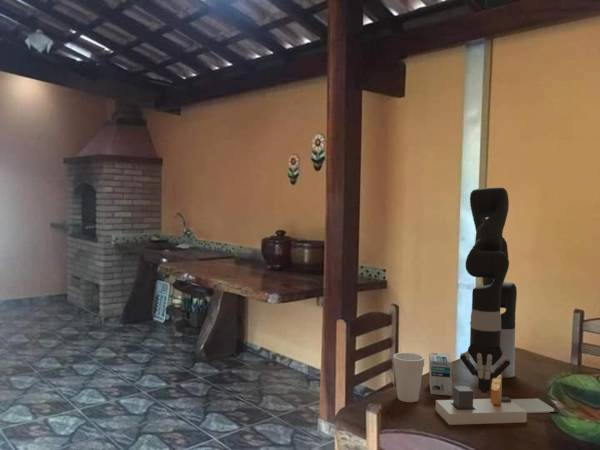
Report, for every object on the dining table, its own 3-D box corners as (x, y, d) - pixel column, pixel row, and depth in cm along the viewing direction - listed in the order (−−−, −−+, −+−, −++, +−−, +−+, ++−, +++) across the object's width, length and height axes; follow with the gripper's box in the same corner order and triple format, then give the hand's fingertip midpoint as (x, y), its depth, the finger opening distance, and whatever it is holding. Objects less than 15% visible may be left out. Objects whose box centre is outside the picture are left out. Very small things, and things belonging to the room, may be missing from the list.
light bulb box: (452, 396, 156) (452, 362, 156) (430, 394, 157) (430, 360, 157) (449, 385, 166) (449, 353, 166) (428, 383, 168) (428, 351, 167)
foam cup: (405, 406, 147) (406, 362, 147) (386, 396, 155) (387, 354, 155) (430, 400, 152) (430, 358, 151) (410, 391, 160) (410, 351, 160)
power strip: (435, 410, 144) (435, 397, 144) (507, 408, 146) (508, 395, 146) (449, 424, 134) (449, 410, 134) (526, 422, 136) (526, 408, 136)
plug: (453, 414, 141) (453, 386, 141) (466, 413, 142) (467, 386, 142) (458, 419, 137) (459, 391, 137) (472, 419, 138) (473, 391, 138)
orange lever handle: (489, 423, 127) (490, 389, 127) (492, 402, 142) (493, 371, 142) (499, 425, 126) (500, 390, 126) (501, 403, 141) (502, 373, 141)
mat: (507, 400, 152) (507, 399, 152) (537, 399, 153) (537, 398, 153) (524, 413, 142) (524, 412, 142) (557, 412, 143) (557, 411, 143)
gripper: (512, 326, 131) (511, 391, 132) (460, 321, 136) (459, 383, 137) (513, 332, 124) (511, 400, 125) (458, 326, 130) (456, 392, 130)
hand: (483, 391), depth 131 cm, fingers closed
